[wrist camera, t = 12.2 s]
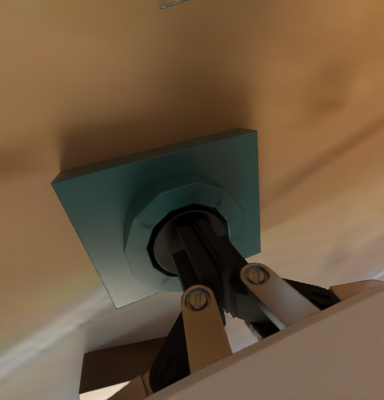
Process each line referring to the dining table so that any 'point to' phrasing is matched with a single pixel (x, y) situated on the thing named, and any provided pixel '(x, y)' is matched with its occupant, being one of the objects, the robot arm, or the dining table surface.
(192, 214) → the black button
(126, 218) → the button housing
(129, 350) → the dial panel
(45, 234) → the dining table surface
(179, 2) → the eyeglasses
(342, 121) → the dining table surface
